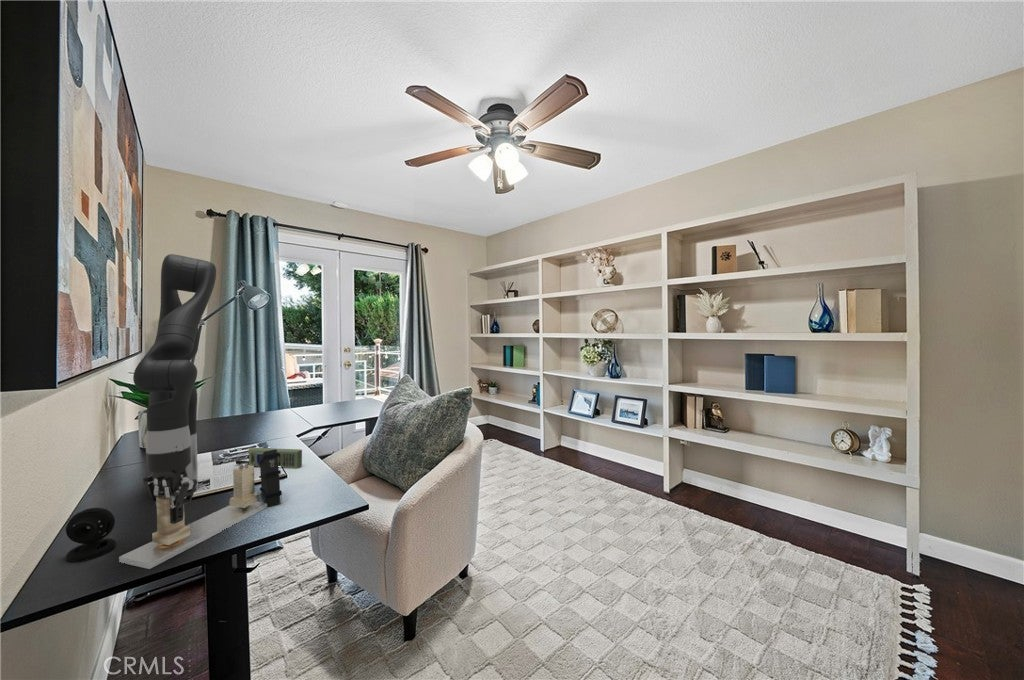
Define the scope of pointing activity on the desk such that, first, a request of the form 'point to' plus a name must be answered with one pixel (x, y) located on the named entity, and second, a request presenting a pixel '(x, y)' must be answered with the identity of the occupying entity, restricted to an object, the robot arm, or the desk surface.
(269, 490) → the black boxy piece
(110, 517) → the webcam
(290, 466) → the handheld radio
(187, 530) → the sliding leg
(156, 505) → the robot arm
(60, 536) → the desk surface
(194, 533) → the bolt-hole plate
